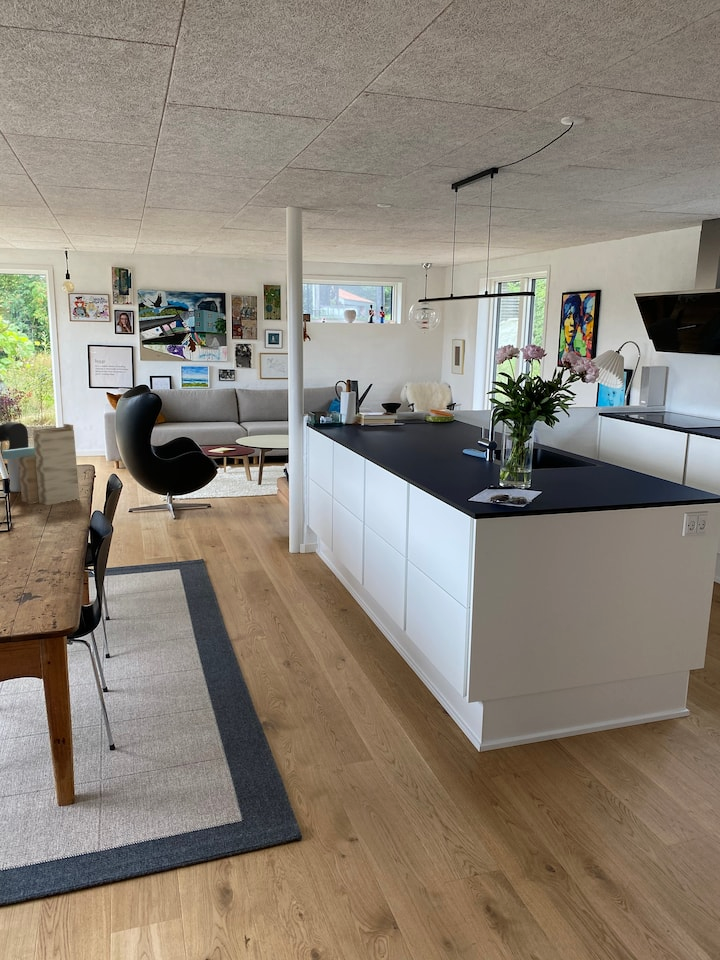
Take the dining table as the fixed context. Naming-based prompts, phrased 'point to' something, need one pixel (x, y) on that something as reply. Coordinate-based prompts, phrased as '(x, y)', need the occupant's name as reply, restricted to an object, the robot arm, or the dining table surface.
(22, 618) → the dining table surface
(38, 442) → the birch stand
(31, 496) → the oak step
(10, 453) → the teal block
